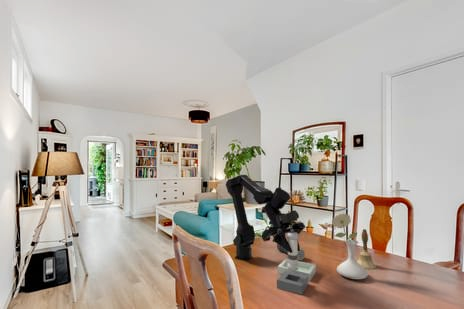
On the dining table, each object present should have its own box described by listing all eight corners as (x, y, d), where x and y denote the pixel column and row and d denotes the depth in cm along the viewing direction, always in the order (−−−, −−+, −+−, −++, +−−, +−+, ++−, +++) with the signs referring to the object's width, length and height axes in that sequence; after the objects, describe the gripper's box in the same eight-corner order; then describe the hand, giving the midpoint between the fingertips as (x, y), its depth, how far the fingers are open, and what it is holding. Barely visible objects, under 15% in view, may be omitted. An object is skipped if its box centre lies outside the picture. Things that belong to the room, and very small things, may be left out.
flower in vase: (365, 272, 104) (364, 212, 105) (370, 284, 93) (369, 217, 94) (331, 267, 108) (330, 210, 109) (333, 279, 97) (332, 215, 98)
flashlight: (275, 251, 129) (275, 240, 129) (283, 249, 131) (283, 239, 132) (296, 261, 115) (296, 249, 116) (305, 259, 118) (304, 247, 118)
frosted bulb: (286, 269, 91) (285, 233, 91) (289, 265, 94) (289, 231, 95) (296, 271, 89) (296, 235, 90) (299, 267, 92) (299, 232, 93)
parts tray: (277, 273, 102) (277, 266, 102) (285, 265, 110) (285, 258, 110) (309, 281, 95) (309, 273, 95) (315, 272, 103) (315, 264, 104)
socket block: (276, 288, 90) (276, 279, 90) (285, 278, 97) (285, 270, 98) (301, 294, 85) (301, 286, 85) (308, 284, 93) (308, 276, 93)
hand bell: (367, 270, 105) (366, 232, 106) (351, 263, 113) (350, 228, 114) (380, 267, 108) (380, 230, 109) (364, 260, 116) (363, 226, 117)
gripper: (266, 205, 91) (287, 244, 81) (301, 201, 101) (324, 236, 91) (253, 222, 97) (272, 260, 88) (288, 217, 107) (308, 251, 97)
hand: (295, 251), depth 91 cm, fingers closed on frosted bulb, 3 cm apart
